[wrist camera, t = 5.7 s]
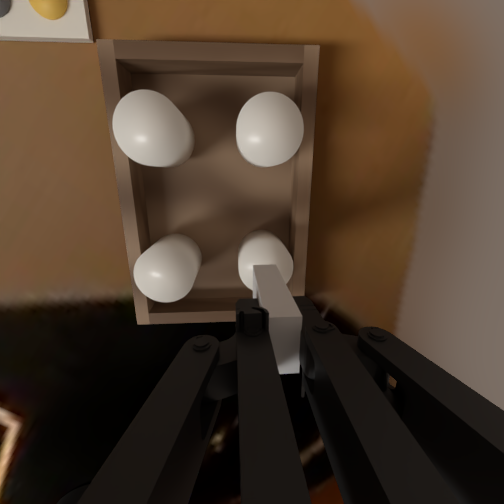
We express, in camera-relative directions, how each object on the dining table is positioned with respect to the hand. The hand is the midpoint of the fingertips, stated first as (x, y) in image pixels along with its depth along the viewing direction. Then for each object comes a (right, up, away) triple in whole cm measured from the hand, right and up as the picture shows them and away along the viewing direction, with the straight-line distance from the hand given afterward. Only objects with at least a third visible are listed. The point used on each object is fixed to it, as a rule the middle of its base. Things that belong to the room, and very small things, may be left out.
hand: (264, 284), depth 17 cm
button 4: (-7, +10, +2) cm, 13 cm away
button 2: (0, +10, +2) cm, 11 cm away
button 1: (0, +2, +6) cm, 6 cm away
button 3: (-7, +2, +4) cm, 8 cm away
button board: (-4, +7, +5) cm, 9 cm away
